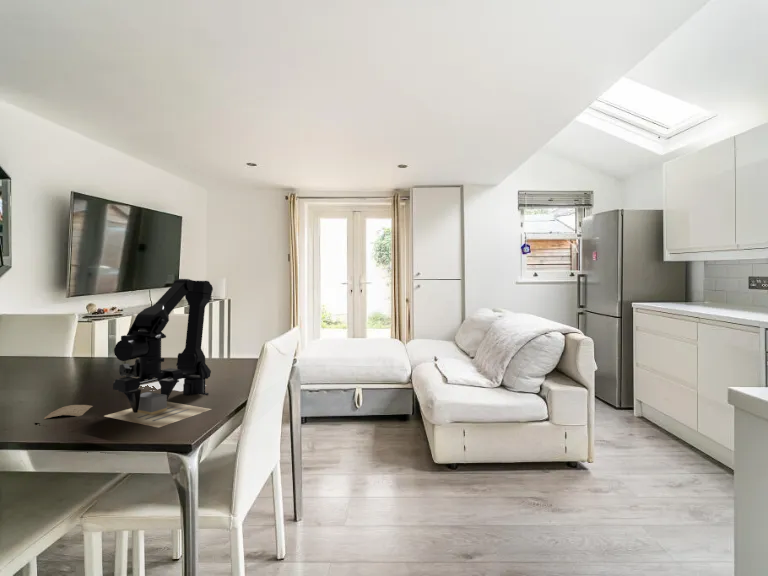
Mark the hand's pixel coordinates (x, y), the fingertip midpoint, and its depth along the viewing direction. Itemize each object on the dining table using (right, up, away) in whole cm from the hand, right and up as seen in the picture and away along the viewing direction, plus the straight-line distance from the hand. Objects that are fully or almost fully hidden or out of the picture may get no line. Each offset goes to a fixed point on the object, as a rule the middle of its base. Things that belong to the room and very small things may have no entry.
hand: (149, 408), depth 125 cm
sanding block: (0, -1, 0) cm, 1 cm away
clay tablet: (-22, -3, -3) cm, 22 cm away
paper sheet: (-14, -2, +30) cm, 33 cm away
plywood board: (+4, -2, -2) cm, 4 cm away
